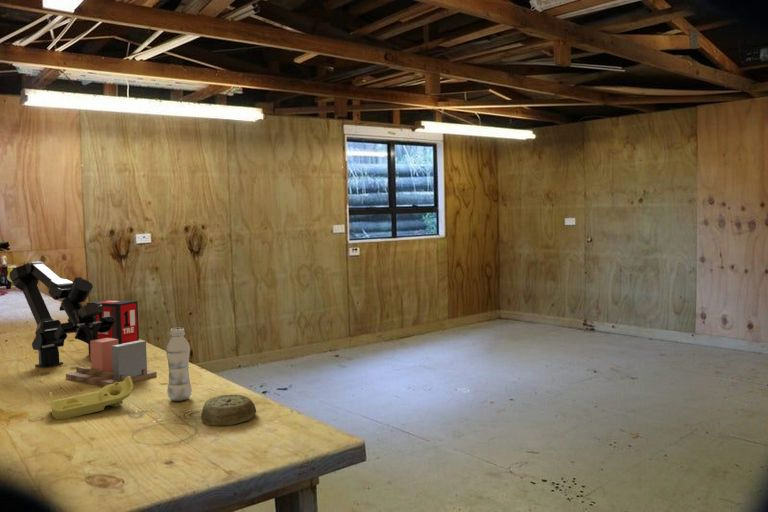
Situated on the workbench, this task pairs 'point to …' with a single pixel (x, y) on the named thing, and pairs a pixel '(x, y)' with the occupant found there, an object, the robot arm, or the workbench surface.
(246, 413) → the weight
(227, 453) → the workbench surface
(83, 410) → the plastic component
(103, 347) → the pink rectangular block
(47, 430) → the workbench surface
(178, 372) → the plastic bottle
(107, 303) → the cleaning product box
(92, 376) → the wooden pallet
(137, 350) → the end stop
